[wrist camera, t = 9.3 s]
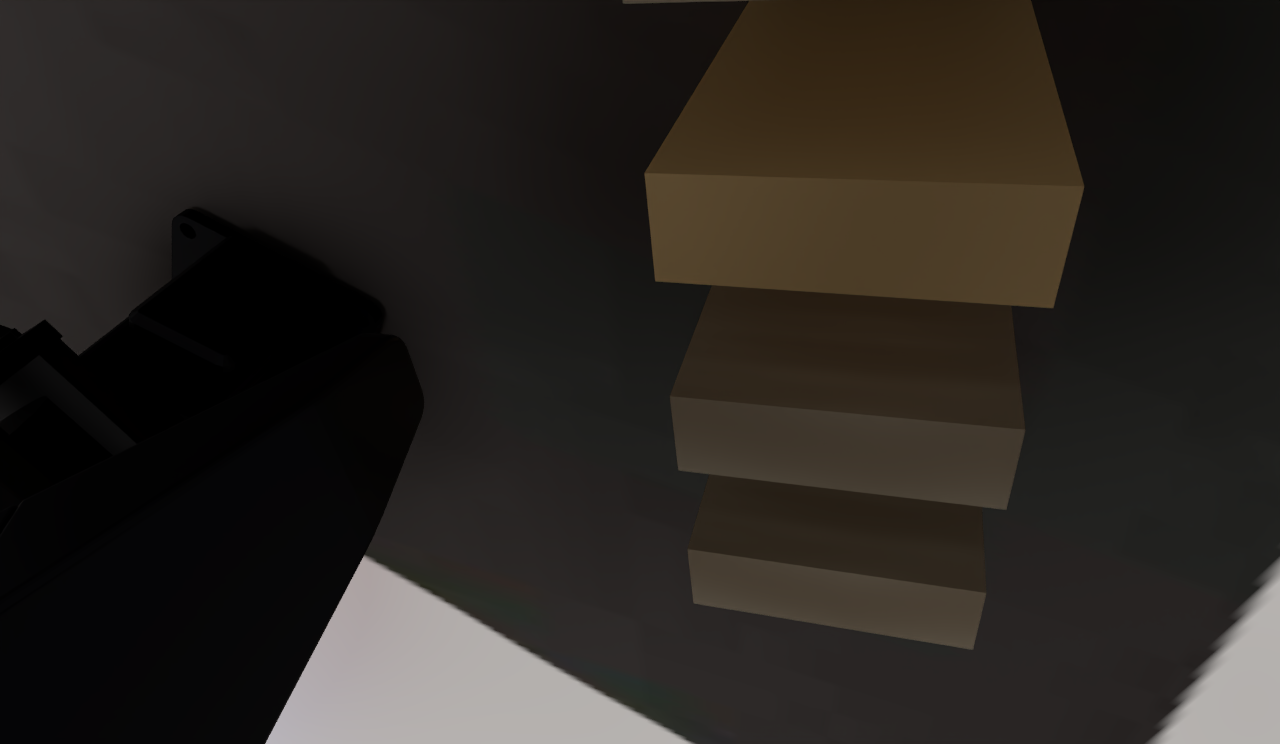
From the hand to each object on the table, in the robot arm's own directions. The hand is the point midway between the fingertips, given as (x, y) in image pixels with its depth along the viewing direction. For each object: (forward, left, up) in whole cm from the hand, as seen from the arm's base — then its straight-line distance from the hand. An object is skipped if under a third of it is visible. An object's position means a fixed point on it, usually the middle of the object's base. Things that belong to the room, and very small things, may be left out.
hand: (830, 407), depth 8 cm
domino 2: (-3, -2, -11) cm, 12 cm away
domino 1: (0, 0, -11) cm, 11 cm away
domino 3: (-6, -3, -11) cm, 13 cm away
